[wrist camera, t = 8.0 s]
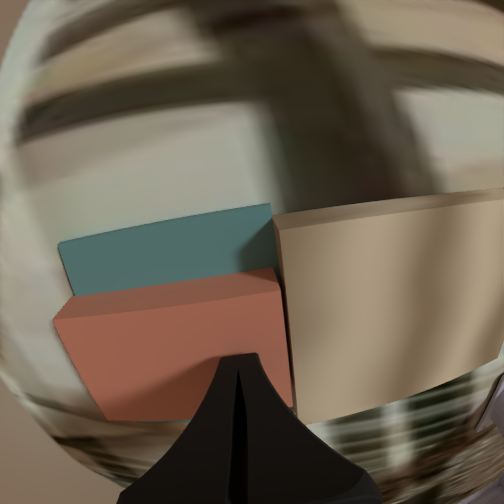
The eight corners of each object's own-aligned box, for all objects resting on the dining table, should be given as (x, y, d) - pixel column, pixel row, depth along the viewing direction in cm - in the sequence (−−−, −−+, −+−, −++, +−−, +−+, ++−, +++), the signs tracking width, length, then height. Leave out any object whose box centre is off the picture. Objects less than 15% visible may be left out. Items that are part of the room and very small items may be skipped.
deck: (506, 187, 12) (531, 196, 10) (480, 341, 16) (497, 357, 14) (271, 215, 12) (279, 230, 10) (292, 398, 15) (298, 426, 14)
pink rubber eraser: (272, 267, 12) (280, 290, 10) (286, 377, 14) (292, 406, 13) (71, 296, 12) (52, 320, 10) (116, 393, 14) (107, 420, 12)
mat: (269, 203, 12) (270, 204, 11) (292, 404, 16) (293, 408, 15) (60, 242, 12) (57, 244, 11) (137, 419, 15) (137, 422, 15)
